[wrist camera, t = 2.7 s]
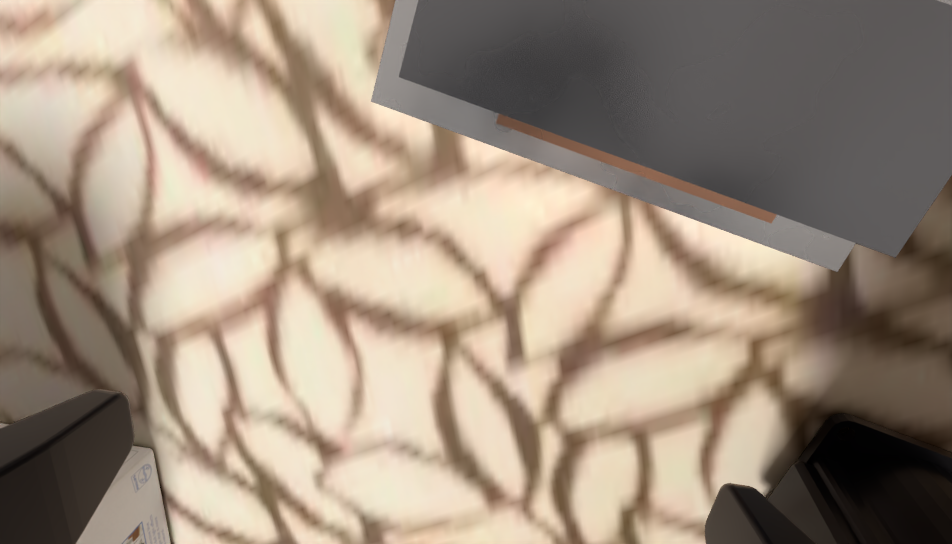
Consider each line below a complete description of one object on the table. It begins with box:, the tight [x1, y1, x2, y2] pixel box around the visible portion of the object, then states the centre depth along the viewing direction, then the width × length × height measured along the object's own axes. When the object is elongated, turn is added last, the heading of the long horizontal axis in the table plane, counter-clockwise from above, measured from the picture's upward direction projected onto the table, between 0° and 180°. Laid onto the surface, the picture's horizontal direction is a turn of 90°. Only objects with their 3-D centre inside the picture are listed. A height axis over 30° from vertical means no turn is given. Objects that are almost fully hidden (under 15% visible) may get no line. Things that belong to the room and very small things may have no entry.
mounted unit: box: [371, 0, 952, 272], centre depth 13 cm, size 14×7×6 cm, turn 72°
